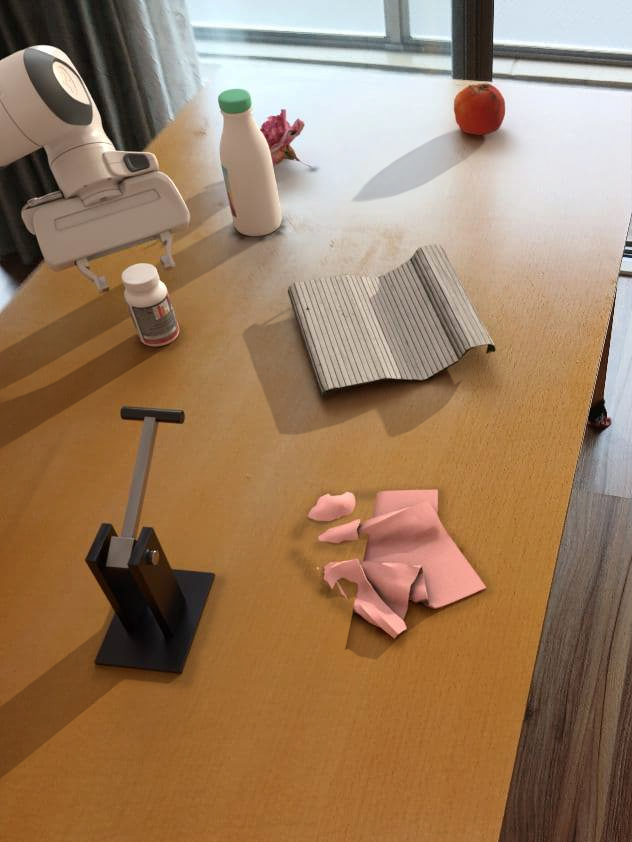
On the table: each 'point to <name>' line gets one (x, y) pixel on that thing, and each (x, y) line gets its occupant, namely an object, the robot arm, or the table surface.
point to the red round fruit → (479, 109)
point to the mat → (387, 323)
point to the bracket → (148, 605)
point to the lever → (138, 480)
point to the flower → (281, 137)
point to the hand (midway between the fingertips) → (138, 280)
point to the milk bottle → (247, 167)
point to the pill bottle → (149, 305)
